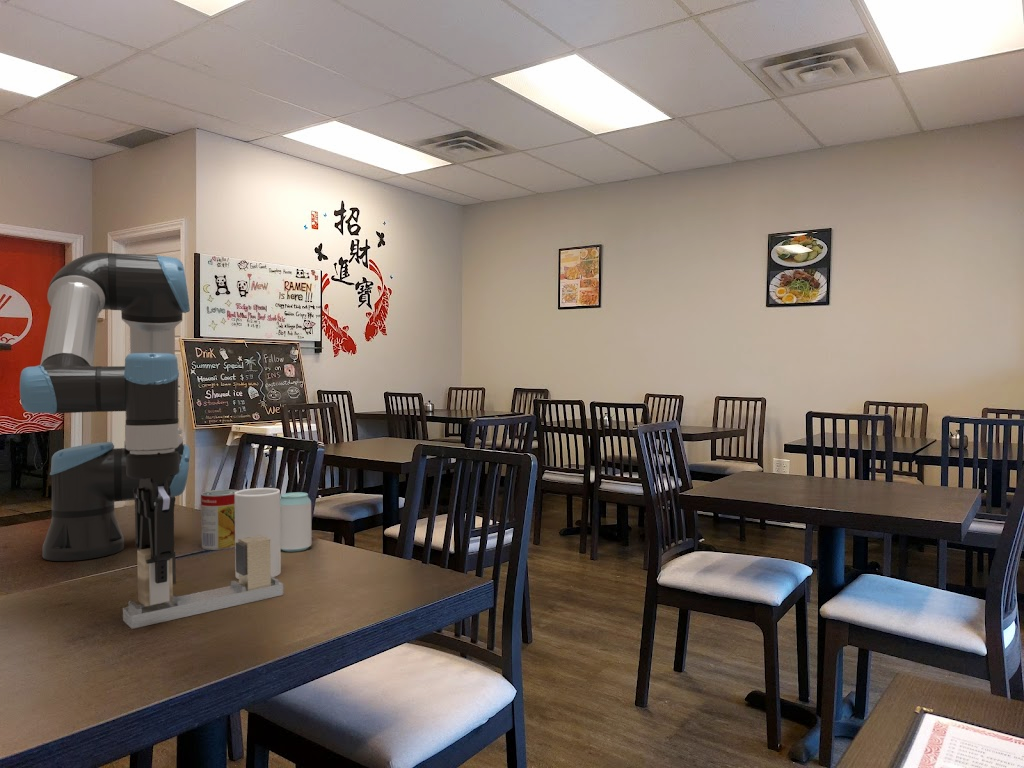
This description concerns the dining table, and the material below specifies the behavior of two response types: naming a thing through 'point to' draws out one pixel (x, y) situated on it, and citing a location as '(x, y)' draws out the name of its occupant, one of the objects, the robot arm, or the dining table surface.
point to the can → (295, 522)
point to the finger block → (144, 576)
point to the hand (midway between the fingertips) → (155, 598)
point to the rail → (251, 587)
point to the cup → (259, 520)
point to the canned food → (218, 519)
